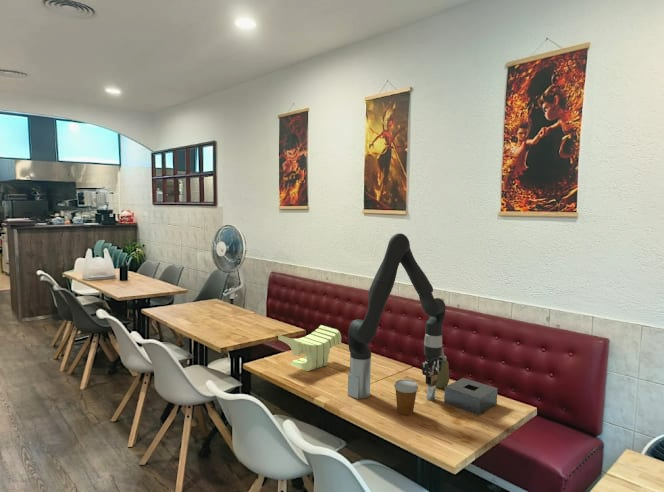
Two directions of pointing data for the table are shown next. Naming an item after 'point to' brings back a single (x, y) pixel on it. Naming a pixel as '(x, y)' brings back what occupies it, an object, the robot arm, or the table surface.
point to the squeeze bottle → (443, 373)
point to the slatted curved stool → (313, 347)
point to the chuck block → (471, 396)
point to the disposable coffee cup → (405, 396)
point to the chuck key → (432, 387)
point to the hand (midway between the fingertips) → (431, 382)
